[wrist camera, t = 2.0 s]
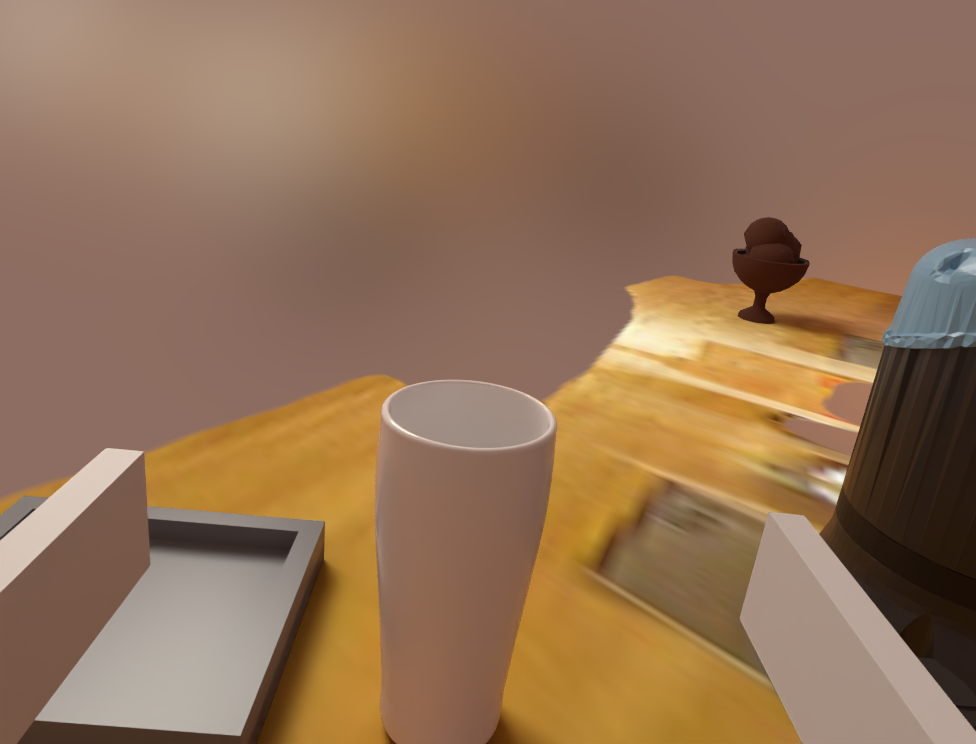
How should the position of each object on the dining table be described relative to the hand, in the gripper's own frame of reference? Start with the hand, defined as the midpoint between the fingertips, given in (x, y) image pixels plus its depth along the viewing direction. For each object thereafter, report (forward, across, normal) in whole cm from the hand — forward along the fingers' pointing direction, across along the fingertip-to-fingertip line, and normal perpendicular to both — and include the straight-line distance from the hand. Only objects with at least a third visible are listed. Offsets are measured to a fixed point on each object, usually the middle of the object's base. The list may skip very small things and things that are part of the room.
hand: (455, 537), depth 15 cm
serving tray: (+15, -16, -17) cm, 28 cm away
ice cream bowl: (+92, +43, -16) cm, 103 cm away
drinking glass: (+12, 0, -17) cm, 21 cm away
